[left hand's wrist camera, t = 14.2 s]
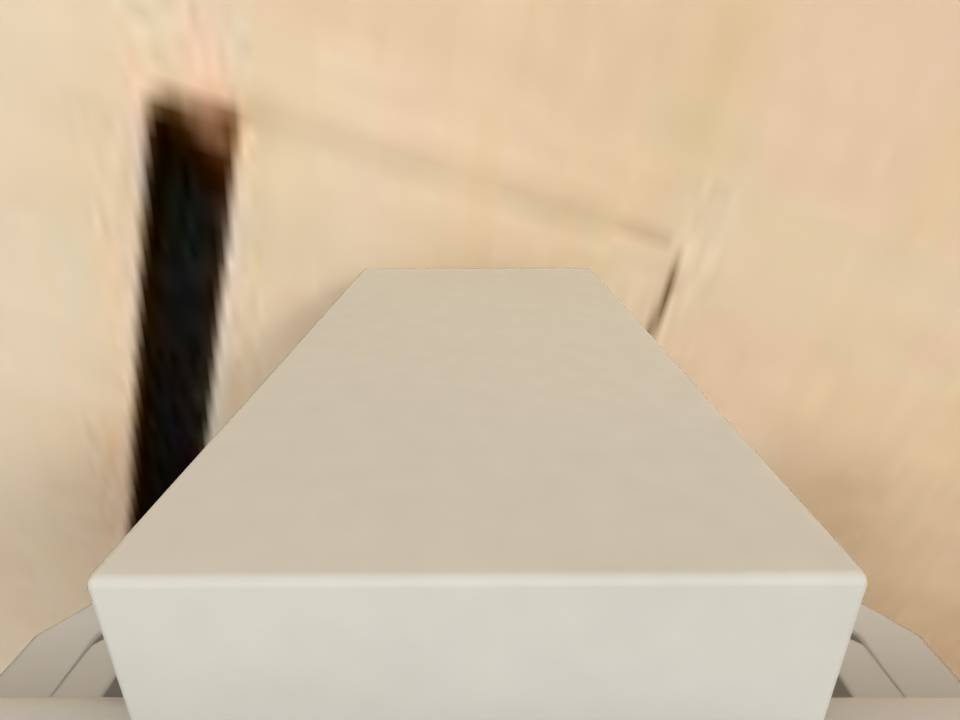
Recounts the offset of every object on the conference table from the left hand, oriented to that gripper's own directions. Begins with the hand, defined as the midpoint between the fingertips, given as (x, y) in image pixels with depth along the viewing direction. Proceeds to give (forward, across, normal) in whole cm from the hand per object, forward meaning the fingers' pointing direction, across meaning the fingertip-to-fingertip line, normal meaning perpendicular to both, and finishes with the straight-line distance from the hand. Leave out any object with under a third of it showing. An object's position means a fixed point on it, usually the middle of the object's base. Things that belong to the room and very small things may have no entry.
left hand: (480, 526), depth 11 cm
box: (+6, 0, -10) cm, 12 cm away
